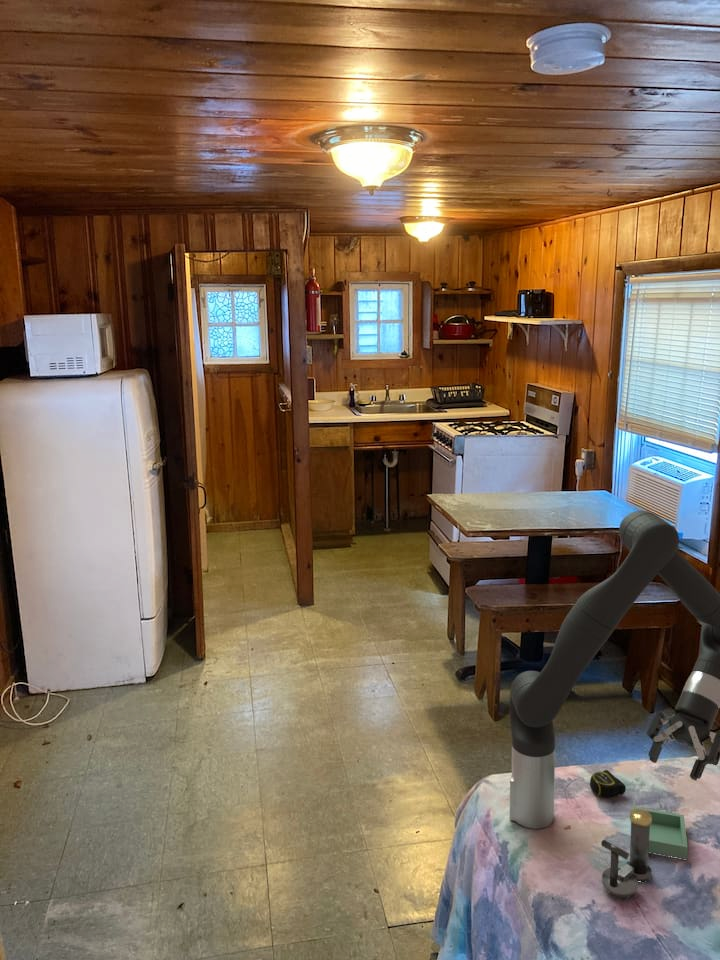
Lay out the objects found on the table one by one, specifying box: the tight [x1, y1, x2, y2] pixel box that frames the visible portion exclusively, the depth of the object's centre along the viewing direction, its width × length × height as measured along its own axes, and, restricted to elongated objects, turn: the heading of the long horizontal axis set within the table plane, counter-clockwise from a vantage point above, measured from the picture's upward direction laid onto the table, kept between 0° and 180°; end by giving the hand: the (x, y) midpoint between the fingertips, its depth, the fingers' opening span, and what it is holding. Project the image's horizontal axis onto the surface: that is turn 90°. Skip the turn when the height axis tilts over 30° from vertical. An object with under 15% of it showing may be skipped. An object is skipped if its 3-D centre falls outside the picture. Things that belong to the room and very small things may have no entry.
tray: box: [630, 806, 688, 860], centre depth 156 cm, size 11×11×3 cm
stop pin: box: [625, 809, 652, 883], centre depth 145 cm, size 5×5×13 cm
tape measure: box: [589, 769, 627, 799], centre depth 172 cm, size 7×7×4 cm
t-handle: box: [600, 839, 639, 900], centre depth 141 cm, size 7×6×11 cm
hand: (672, 769), depth 150 cm, fingers open, 8 cm apart
